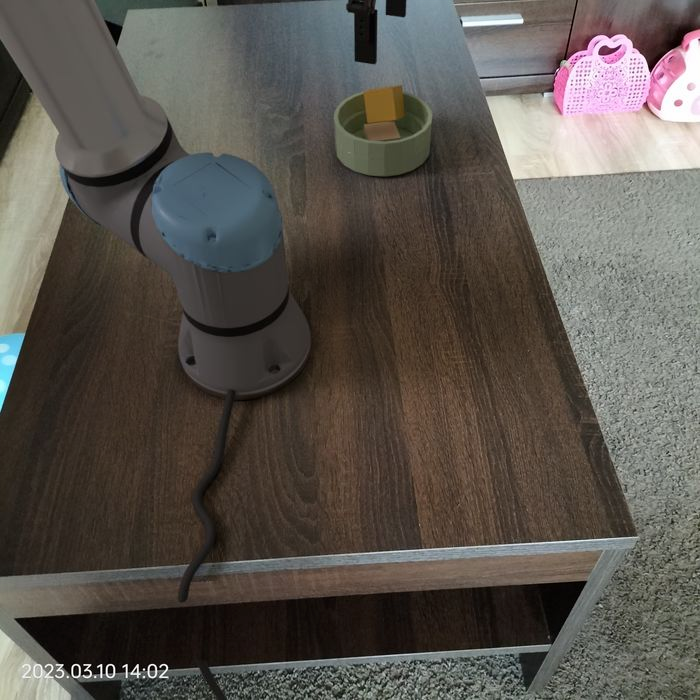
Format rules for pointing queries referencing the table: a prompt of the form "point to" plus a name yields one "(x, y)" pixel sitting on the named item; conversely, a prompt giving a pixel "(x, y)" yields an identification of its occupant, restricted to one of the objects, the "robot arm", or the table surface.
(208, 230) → the robot arm
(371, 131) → the beech block
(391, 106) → the mustard block
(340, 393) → the table surface
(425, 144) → the pale green pet bowl
